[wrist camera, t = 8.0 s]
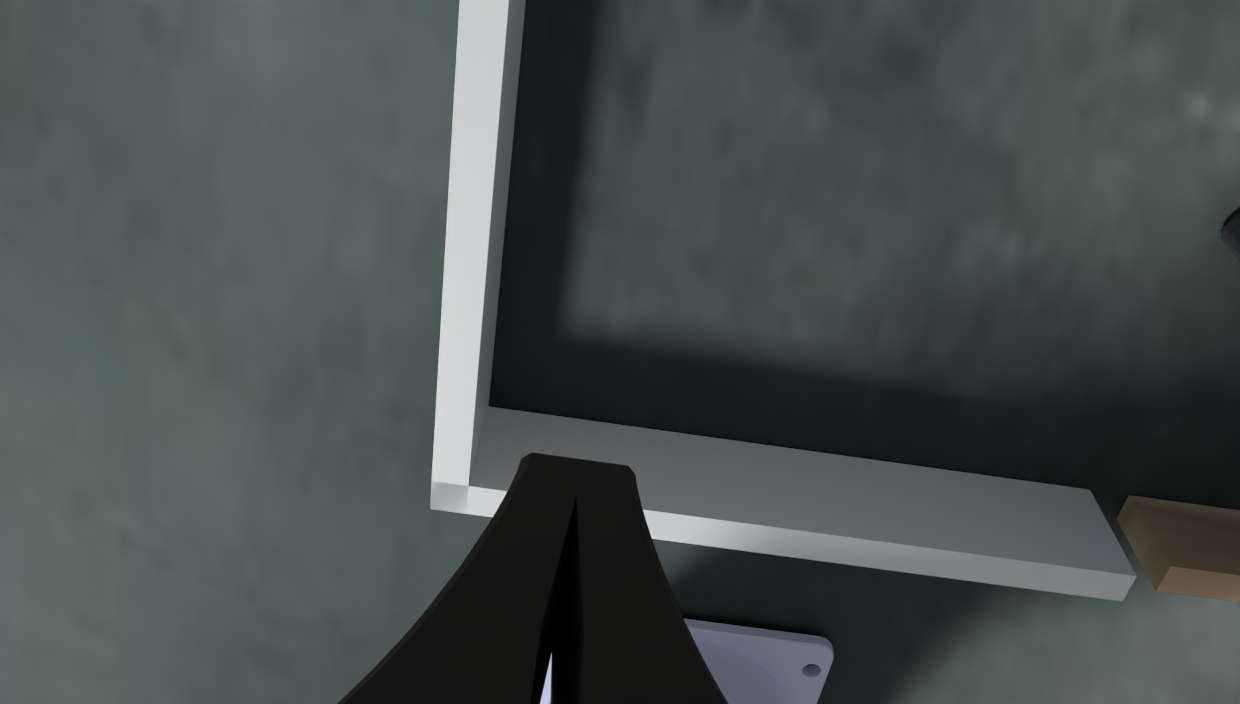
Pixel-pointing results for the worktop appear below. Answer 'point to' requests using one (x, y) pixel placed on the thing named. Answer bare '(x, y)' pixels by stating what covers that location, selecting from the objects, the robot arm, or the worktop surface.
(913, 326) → the worktop surface
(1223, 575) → the block
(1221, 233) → the small box
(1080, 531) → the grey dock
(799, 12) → the worktop surface
